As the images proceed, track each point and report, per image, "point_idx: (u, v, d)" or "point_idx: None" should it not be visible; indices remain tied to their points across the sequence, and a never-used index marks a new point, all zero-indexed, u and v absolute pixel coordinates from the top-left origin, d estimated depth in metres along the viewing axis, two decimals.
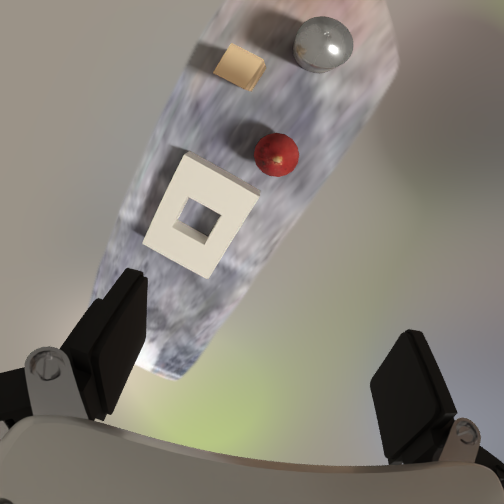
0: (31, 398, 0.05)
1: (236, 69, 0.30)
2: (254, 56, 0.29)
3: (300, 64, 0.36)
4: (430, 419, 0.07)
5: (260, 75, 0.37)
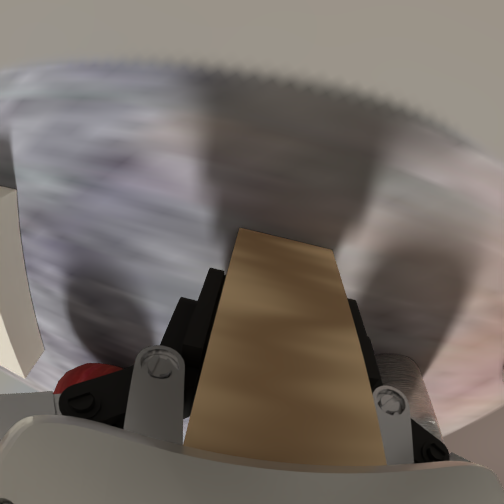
0: (132, 388, 0.06)
1: None
2: None
3: None
4: None
5: None
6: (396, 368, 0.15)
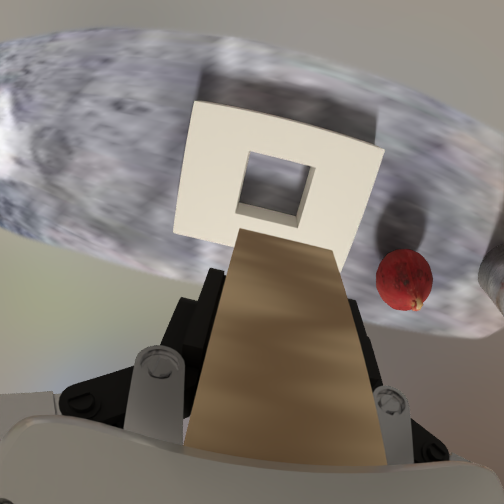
0: (132, 388, 0.06)
1: None
2: None
3: (490, 262, 0.29)
4: None
5: None
6: None
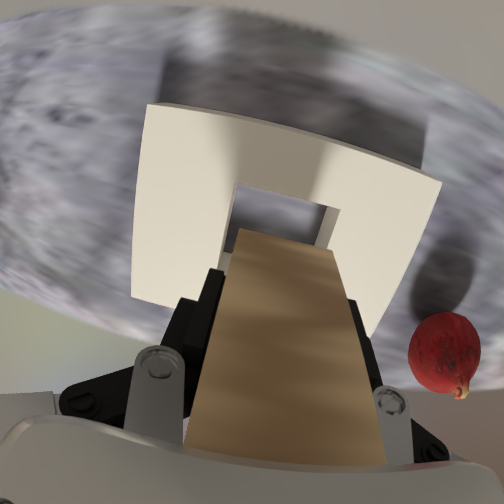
0: (132, 388, 0.06)
1: None
2: None
3: None
4: None
5: None
6: None
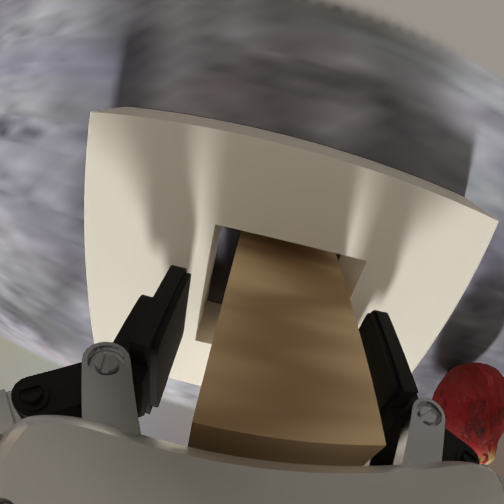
0: (83, 388, 0.06)
1: None
2: None
3: None
4: (390, 397, 0.08)
5: None
6: None
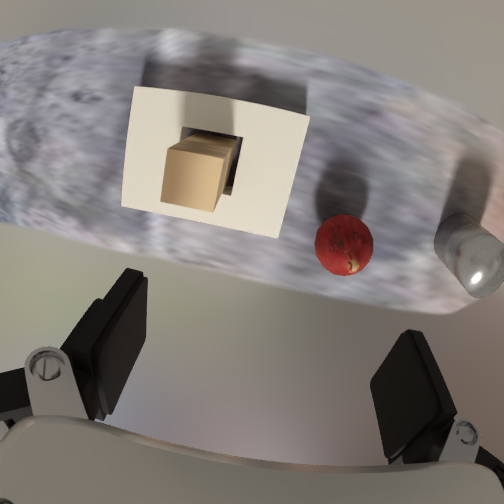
0: (31, 398, 0.05)
1: (183, 180, 0.22)
2: (213, 199, 0.22)
3: (445, 230, 0.31)
4: (430, 419, 0.07)
5: None
6: (469, 217, 0.31)
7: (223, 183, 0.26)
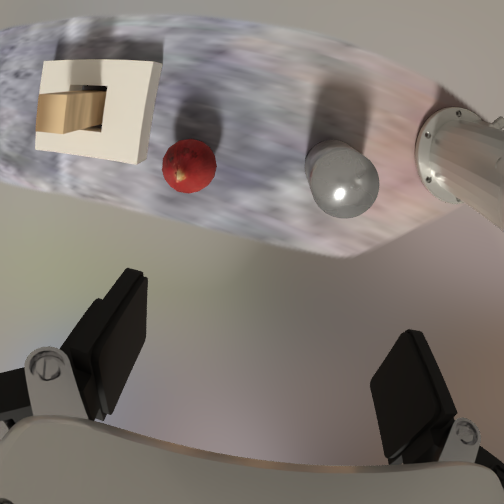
0: (31, 398, 0.05)
1: (47, 114, 0.25)
2: (62, 124, 0.25)
3: (310, 154, 0.34)
4: (430, 419, 0.07)
5: None
6: (340, 141, 0.33)
7: (85, 119, 0.29)
